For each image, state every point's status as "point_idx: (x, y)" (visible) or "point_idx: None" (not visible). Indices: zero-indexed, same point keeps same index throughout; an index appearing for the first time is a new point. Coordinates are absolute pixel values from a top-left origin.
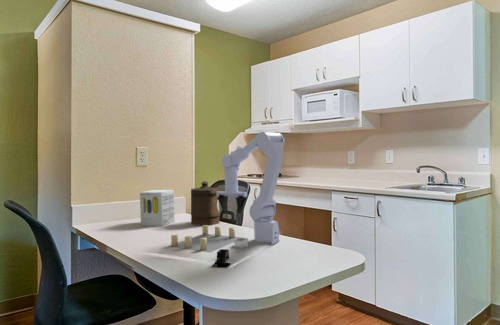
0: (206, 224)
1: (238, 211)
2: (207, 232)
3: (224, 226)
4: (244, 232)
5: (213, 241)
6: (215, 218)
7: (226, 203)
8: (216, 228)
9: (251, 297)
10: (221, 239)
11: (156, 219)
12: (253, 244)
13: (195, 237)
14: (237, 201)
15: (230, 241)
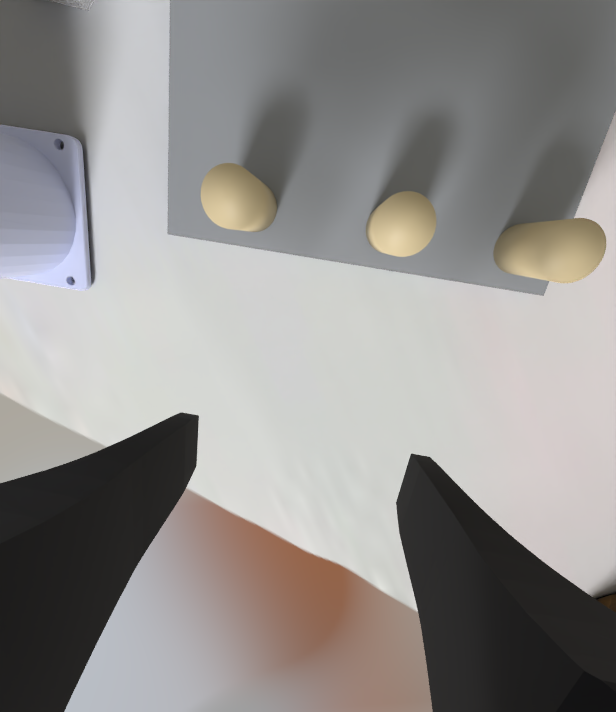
0: (613, 599)
1: (171, 420)
2: (506, 245)
3: None
4: (270, 447)
5: (354, 4)
6: None
7: (427, 630)
8: (405, 192)
9: None
10: (312, 112)
11: None
12: (47, 115)
13: (588, 123)
14: (33, 505)
15: (205, 58)
